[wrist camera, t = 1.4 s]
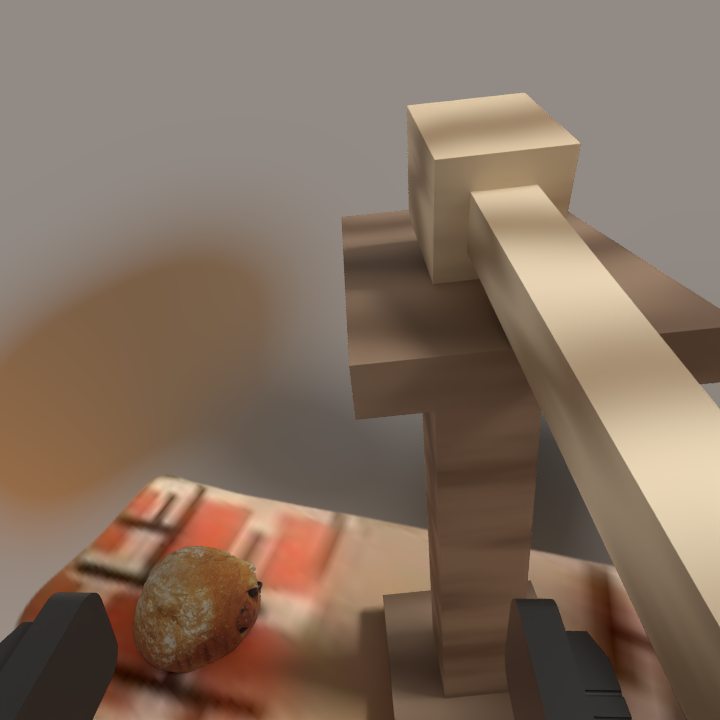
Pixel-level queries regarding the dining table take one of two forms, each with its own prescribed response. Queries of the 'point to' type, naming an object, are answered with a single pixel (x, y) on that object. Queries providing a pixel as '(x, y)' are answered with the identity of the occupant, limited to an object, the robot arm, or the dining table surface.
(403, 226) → the stand
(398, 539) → the dining table surface
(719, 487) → the mallet
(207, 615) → the bread roll
